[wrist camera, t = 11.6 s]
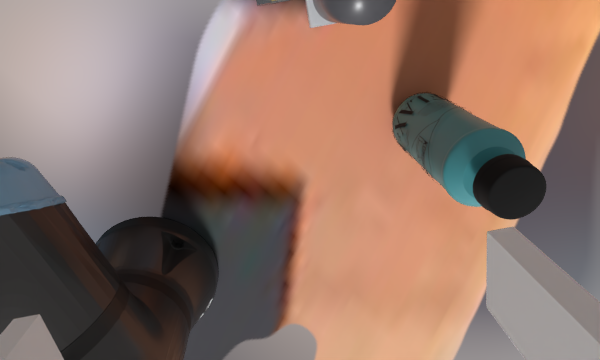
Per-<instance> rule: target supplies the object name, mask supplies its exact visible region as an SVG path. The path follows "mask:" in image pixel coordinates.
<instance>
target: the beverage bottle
mask: <svg viewBox="0 0 600 360" xmlns="http://www.w3.org/2000/svg"><path fill="white" fill-rule="evenodd" d="M445 99H446V98H445ZM445 99H443V98H441V97H439V96H437V95H436V94H429V93H423V92H422V94H418V93H417V95H412V96H410V97H409V98H407V99H406V100H405V101H404V102H403V103H402V104H401V105H400V106H399V107H398V109H397V110H396V112H395V115H394V117H393V121H392V123H393V131H392V132H394V135H393V136H394V137H395V138H396V140H397V142H398V144H399V146H401V148H402V149H403V150H404V151H405V152H406V153H408V154H409V153H410V154H411V155H412V156H413V157H414V158H415V160H416V162H418V163H419V164H420V165H421V166H422V167H423V168H424V169H425V171H426V173H427V174H428V173H429V174H430V175H431V177H432V178H434V179H435V180H436V181H438V182H439V183H440V185H442V186H443V187H444V188H445V189H446V191H447V192H448V194H449V195H450V196H451V197H452V198H453V199H455V200H456V201H457V202H459V203H461V204H464V205H467V206H475V207H480V206H483V207H484V208H485V209H487V210H489V211H490V212H492V213H493V214H495V215H496V216H498V217H500V218H504V219H518V218H521V217H524V216H526V215H528V214H530V213H531V212H532V211H534V210H535V209H536V208H537V207H538V206H539V205H540V203H541V202H542V200H543V198H544V196H545V192H546V181H545V178H544V176H543V174H542V173H541V172H540V171H539V170H538V169H537V168H536V167H534V166H533V165H532V164H531V163H530V162H529V161H527V160H526V157H525V152H524V148H523V146H522V144H521V143H520V141H519V140H518V139H517V137H516V136H514V135H513V134H512V133H510V132H508V131H506V130H504V129H500V128H498V127H496V126H494V125H492V124H490V123H488V122H486V121H484V120H482V119H480V118H478V117H476V116H474V115H472V113H469V112H467V111H466V110H464V109H462V108H463V107H462V108H460V106H459V107H458V105H457V106H456V105H454V104H455V103H454V104H452V103H451V102H452V101H450V102H449V100H448V99H446V100H447V101H446V100H445ZM406 150H407V151H406ZM410 154H409V155H410ZM411 155H410V156H411ZM411 158H412V157H411ZM412 159H413V158H412ZM422 167H421V168H422ZM424 169H423V170H424ZM429 174H428V175H429ZM437 184H438V183H437Z"/></svg>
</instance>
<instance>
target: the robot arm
mask: <svg viewBox="0 0 600 360" xmlns="http://www.w3.org/2000/svg"><path fill="white" fill-rule="evenodd" d="M65 202H66V199H65V198H64V197H63V196H60V195H59V194H58V193H57V192H56V191H55V190H54V189H53V187H52V186H51V185H50V184H49V183H48V181H47V180H46V179H45V178H44V177H43V175H42V174H41V173H40V172H39V171H38V169H37V168H36V167H35V166H34V165H32V164H31V163H30V162H28V161H26V160H23V159H20V158H14V157H6V158H0V360H183V358H184V354H185V350H186V346H187V342H188V337H189V333H190V331H191V329H192V328H193V327H194V325H195V324H196V322H197V321H198V320H199V319H200V318H201V317H202V316H203V314H204V313H205V312H206V311H207V309H208V308H209V306H210V305H211V303H212V301H213V298H214V295H215V292H216V287H217V282H218V265H217V261H216V258H215V255H214V253H213V251H212V250H211V248H210V246H209V245H208V244H207V242H206V241H205V240H204V239H203V238H202V237H201V236H200V235H199V234H197V233H196V232H195V231H193V230H192V229H190V228H189V227H187V226H185V225H183V224H181V223H179V222H176V221H173V220H170V219H166V218H160V217H139V218H133V219H129V220H126V221H123V222H121V223H119V224H117V225H115V226H113V227H112V228H110V229H109V230H107V231H106V232H105V233H104V234H103V235H102V236H101V238H100V239H99V240H98V241H97V243H96V244H95V243H94V242H93V240H92V239H91V238H90V236H89V235H88V233H87V232H86V231H85V230H84V228H83V227H82V225H81V224H80V223H79V221H78V220H77V218H76V217H75V216H74V214H73V213H72V212H71V210H70V209H69V207H68V206H67V205H66V203H65ZM486 301H487V302H486V303H487V304H486V307H487V309H488V310H489V311H490V313H491V314H492V315H493V317H495V319H496V320H497V322H498V323H499V325H500V326H501V327H502V329H503V330H504V331H505V333H506V334H507V336H508V337H509V338H510V340H511V341H512V342H513V344H514V345H515V346H516V348H517V349H518V350H519V352H520V353H521V354H522V356H523V357H524V358H525V360H600V302H599V301H598V300H597V299H596V298H595V297H594V296H592V295H591V294H590V293H589V292H588V291H587V290H586V289H584V288H583V287H582V286H581V285H580V284H579V283H577V282H576V281H575V280H574V279H573V278H572V277H571V276H569V275H568V274H567V273H566V272H565V271H564V270H563V269H561V268H560V267H559V266H558V265H557V264H556V263H554V262H553V261H552V260H551V259H550V258H549V257H548V256H546V255H545V254H544V253H543V252H542V251H541V250H540V249H538V248H537V247H536V246H535V245H534V244H533V243H532V242H530V241H529V240H528V239H527V238H526V237H525V236H523V235H522V234H521V233H520V232H519V231H518V230H517V229H515V228H514V227H509V228H504V229H498V230H493V231H487V298H486Z"/></svg>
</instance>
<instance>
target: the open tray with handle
mask: <svg viewBox="0 0 600 360" xmlns="http://www.w3.org/2000/svg"><path fill="white" fill-rule="evenodd" d="M305 1H306V8H307V14H308V21H309V27H310V28H313V27H318V26H323V25H329V24H334V23H344V24H354V25H369V24H373V23H375V22H377V21H379V20H381V19H382V18H383V17H385V16H386V15H387V14H388V13H389V12H390V10H391V9H392V7H393V6H394V4H395V2H396V0H305Z"/></svg>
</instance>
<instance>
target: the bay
mask: <svg viewBox="0 0 600 360" xmlns="http://www.w3.org/2000/svg"><path fill="white" fill-rule="evenodd" d="M256 1H257V5H258V6H262V5H268V4H273V3H278V2H284V1H289V0H256Z"/></svg>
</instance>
